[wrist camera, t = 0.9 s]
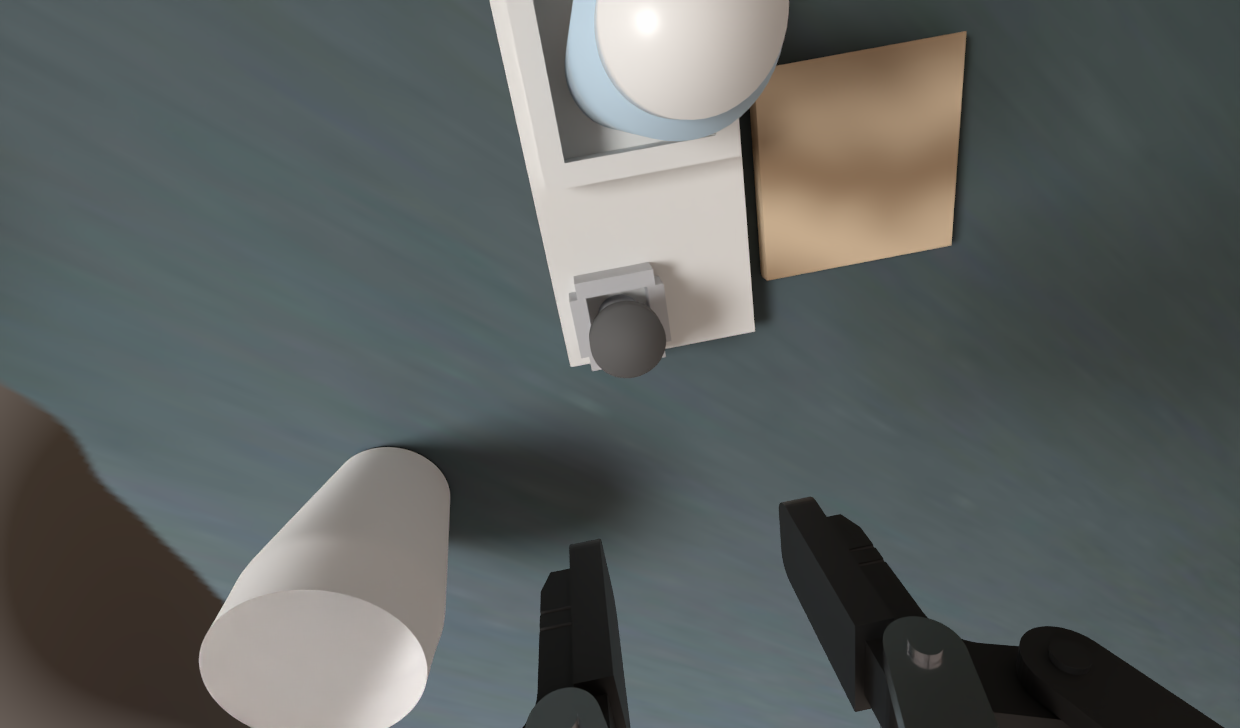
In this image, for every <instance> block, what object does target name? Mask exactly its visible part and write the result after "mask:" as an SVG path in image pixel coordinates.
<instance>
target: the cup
mask: <svg viewBox="0 0 1240 728" xmlns="http://www.w3.org/2000/svg"><path fill="white" fill-rule="evenodd" d="M449 516H450V490H449V486H448V483H447V481H446V479H445V477H444V475H443V474H442V472H441V471H440V470H439V469H438V468H437V466H436V465H434V464H433V463H432V462H431V461H429V460H428V459H427V458H425V457H423V456H421V455H419V454H417V453H415V452H412V451H409V450H406V449H402V448H395V447H380V448H373V449H369V450H366V451H363V452H360V453H358V454H356V455H355V456H353V457H351V458H350V459H349V460H348V461H346V462H345V463H344V464H343V465H342V467H341V468H340V469H339V470H338V471H337V472H336V473H335V474H334V475H333V476H332V477H331V478H330V479H329V480H328V481H327V482H326V483H325V484H324V485H323V486H322V487H321V488H320V489H319V491H318V492H317V493H316V494H315V495H314V496H313V497H312V498H311V499H310V500H309V501H308V502H307V503H306V504H305V505H304V506H303V507H302V508H301V509H300V510H299V511H298V512H297V513H296V515H295V516H294V517H293V518H292V519H291V520H290V521H289V522H288V523H287V524H286V525H285V526H284V527H283V528H282V529H281V530H280V531H279V532H278V533H277V534H276V535H275V536H274V538H273V539H272V540H271V541H270V542H269V543H268V544H267V545H266V546H265V547H264V548H263V549H262V550H261V551H260V552H259V553H258V554H257V555H256V556H255V558H254V559H253V560H252V561H251V562H250V563H249V565H248V566H247V567H246V568H245V569H244V571H243V572H242V573H241V575H240V576H239V578H238V580H237V581H236V583H235V585H234V587H233V589H232V591H231V592H230V594H229V596H228V598H227V600H226V601H225V603H224V605H223V607H222V609H221V610H220V612H219V614H218V615H217V617H216V619H215V620H214V622H213V624H212V626H211V627H210V629H209V631H208V632H207V634H206V636H205V638H204V640H203V642H202V645H201V649H200V656H199V667H200V672H201V676H202V679H203V682H204V684H205V686H206V688H207V690H208V691H209V693H210V694H211V696H212V697H213V698H214V699H215V701H216V702H217V703H218V704H219V705H220V706H221V707H222V708H223V709H224V710H225V711H227V712H228V713H229V714H230V715H232V716H233V717H235V718H236V719H238V720H239V721H241V722H242V723H244V724H246V725H248V726H250V727H252V728H388V727H390V726H392V725H393V724H395V723H396V722H398V721H399V720H401V719H402V718H403V717H404V716H406V715H407V714H408V713H409V712H410V711H411V710H412V709H413V708H414V706H415V705H416V704H417V702H418V701H419V699H420V698H421V696H422V694H423V691H424V689H425V685H426V682H427V678H428V675H429V671H430V667H431V664H432V660H433V657H434V653H435V650H436V647H437V645H438V642H439V639H440V636H441V633H442V630H443V624H444V618H445V605H446V585H447V562H448V539H449Z"/></svg>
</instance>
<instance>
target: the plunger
mask: <svg viewBox="0 0 1240 728" xmlns="http://www.w3.org/2000/svg"><path fill="white" fill-rule="evenodd" d="M589 342H590V349H591V353H592V356H593V358H594V360H595V362H596V363H597V365H598V366H599V367H600V368H601V369H602V370H603V371H605V372H606V373H608V374H610V375H613V376H615V377H620V378H633V377H637V376H641V375H643V374H645V373H647V372H649V371H650V370H652V369H653V368H654V367H655V366H656V365H657V364H658V363H659V361H660V360H661V358H662V356H663V354H664V351H665V347H666V334H665V330H664V328H663V325H662V324H661V322H660V320H659V318H658V316H657V315H656V313H655V312H654V311H653V310H652V309H651V308H649V307H648V306H646V305H645V304H642V303H640V302H636V301H635V300H634V299H633V298H632V297H630V296H627V295H623V294H618V295H613V296H611V297H609V298H607V299H606V300H605V301H604V302H603V303H602V304H601V306H600V308H599V311H598V314H597V316H596V317H595V318H594V320H593V322H592V324H591V327H590V332H589Z"/></svg>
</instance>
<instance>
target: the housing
mask: <svg viewBox="0 0 1240 728" xmlns="http://www.w3.org/2000/svg"><path fill="white" fill-rule="evenodd" d="M490 5H491V9H492V14H493V18H494V23H495V27H496V32H497V36H498V41H499V45H500V50H501V54H502V59H503V63H504V68H505V72H506V77H507V81H508V86H509V90H510V95H511V99H512V104H513V108H514V113H515V117H516V122H517V126H518V131H519V135H520V140H521V144H522V149H523V154H524V158H525V163H526V167H527V172H528V176H529V181H530V185H531V190H532V194H533V199H534V203H535V208H536V212H537V217H538V221H539V226H540V230H541V235H542V239H543V244H544V248H545V253H546V257H547V262H548V266H549V271H550V275H551V280H552V284H553V289H554V293H555V298H556V302H557V307H558V311H559V316H560V320H561V325H562V329H563V334H564V339H565V343H566V348H567V352H568V357H569V361H570V366H571V367H574V366H579V365H584V364H589V363H591V368H592V371H596V370H601V368H600V367H599V366H598V365H597V363H596V362H595V360H594V358H593V356H592V353H591V349H590V342H589V332H590V327H591V324H592V322H593V320H594V318H595V317H596V316H597V314H598V311H599V308H600V306H601V304H602V303H603V302H604V301H605V300H606V299H607V298H609V297H611V296H613V295H618V294H623V295H627V296H630V297H632V298H633V299H634V300H635V301H636V302H640V303H642V304H645V305H646V306H648V307H649V308H651V309H652V310H653V311H654V312H655V313H656V315H657V316H658V318H659V320H660V322H661V324H662V325H663V328H664V330H665V334H666V347H665V349H667V348H672V347H677V346H682V345H687V344H692V343H698V342H703V341H708V340H713V339H718V338H723V337H728V336H734V335H739V334H744V333H749V332H754V331H755V325H754V312H753V299H752V285H751V272H750V259H749V245H748V232H747V218H746V205H745V192H744V178H743V165H742V152H741V138H740V125H739V118H738V119H737V120H735V121H734V122H733V123H731V124H730V125H729V126H727V127H725V128H723V129H722V130H720V131H718V132H716V133H713V134H711V135H708V136H706V137H702V138H698V139H694V140H688V141H664V140H658V139H653V138H649V137H644V136H640V135H636V134H631V133H627V132H623V131H619V130H614V129H610V128H607V127H604V126H601V125H599V124H597V123H595V122H594V121H592V120H591V119H589V118H588V117H587V116H586V115H585V114H584V113H583V112H582V111H581V110H580V109H579V107H578V106H577V105H576V103H575V102H574V100H573V98H572V96H571V94H570V91H569V89H568V86H567V82H566V77H565V53H566V46H567V39H568V32H569V25H570V19H571V12H572V5H573V0H490ZM663 357H666V355H665V351H664V354H663V356H662V358H663Z"/></svg>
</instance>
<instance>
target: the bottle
mask: <svg viewBox="0 0 1240 728" xmlns="http://www.w3.org/2000/svg"><path fill="white" fill-rule="evenodd" d="M788 14H789V0H573V5H572V12H571V19H570V25H569V32H568V39H567V46H566V53H565V77H566V82H567V86H568V89H569V91H570V94H571V96H572V98H573V100H574V102H575V103H576V105H577V106H578V107H579V109H580V110H581V111H582V112H583V113H584V114H585V115H586V116H587V117H588V118H589V119H591V120H592V121H594V122H595V123H597V124H599V125H601V126H604V127H607V128H610V129H614V130H619V131H623V132H627V133H631V134H636V135H640V136H644V137H649V138H653V139H658V140H664V141H688V140H694V139H698V138H702V137H706V136H708V135H711V134H713V133H716V132H718V131H720V130H722V129H723V128H725V127H727V126H729V125H730V124H731V123H733V122H734V121H735V120H737V119H738V118H739V117H741V116H742V115H743V114H744V113H745V112H746V111H747V110H748V109H749V108H750V107H751V106H752V105H753V103H754V102H755V101H756V100H757V99H758V97H759V96H760V95H761V93H762V92H763V90H764V88H765V87H766V85H767V84H768V82H769V80H770V78H771V76H772V74H773V72H774V70H775V67H776V64H777V62H778V59H779V56H780V53H781V49H782V44H783V41H784V37H785V33H786V29H787V22H788Z"/></svg>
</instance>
